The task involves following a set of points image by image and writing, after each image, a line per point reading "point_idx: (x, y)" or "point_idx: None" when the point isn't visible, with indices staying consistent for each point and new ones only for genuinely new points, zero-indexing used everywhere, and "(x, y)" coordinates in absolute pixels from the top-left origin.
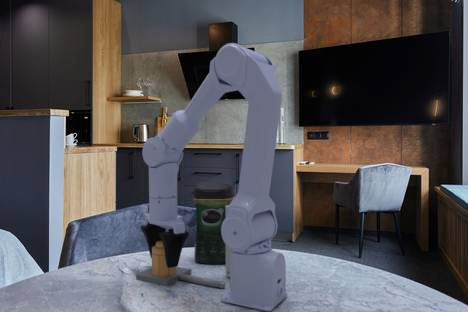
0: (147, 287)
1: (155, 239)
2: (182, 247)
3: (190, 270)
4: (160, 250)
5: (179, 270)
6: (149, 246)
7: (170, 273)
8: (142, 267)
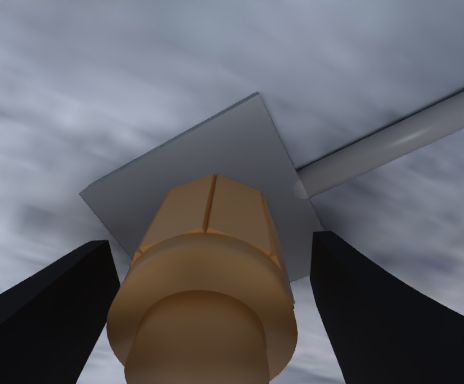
0: (295, 304)
1: (39, 379)
2: (431, 299)
3: (261, 100)
4: (273, 374)
5: (241, 162)
6: (80, 364)
7: (274, 226)
8: (39, 246)
